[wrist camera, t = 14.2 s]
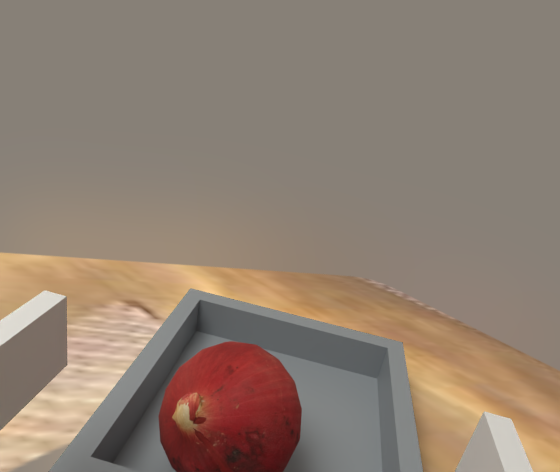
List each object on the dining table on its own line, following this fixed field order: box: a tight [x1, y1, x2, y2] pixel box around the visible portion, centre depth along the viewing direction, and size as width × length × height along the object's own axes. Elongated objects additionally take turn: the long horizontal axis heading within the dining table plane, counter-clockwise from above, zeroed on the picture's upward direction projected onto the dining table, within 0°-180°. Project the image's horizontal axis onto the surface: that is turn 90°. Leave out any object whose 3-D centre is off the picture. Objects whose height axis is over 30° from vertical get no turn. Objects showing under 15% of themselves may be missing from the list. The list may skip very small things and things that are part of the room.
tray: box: [49, 288, 423, 472], centre depth 22 cm, size 14×14×3 cm
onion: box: [158, 341, 302, 472], centre depth 18 cm, size 6×6×8 cm
